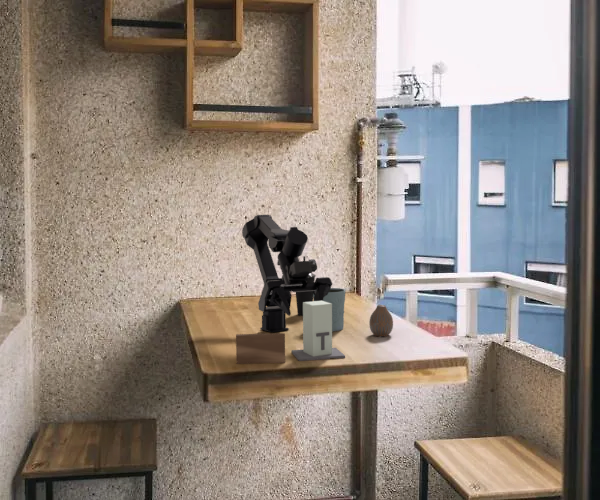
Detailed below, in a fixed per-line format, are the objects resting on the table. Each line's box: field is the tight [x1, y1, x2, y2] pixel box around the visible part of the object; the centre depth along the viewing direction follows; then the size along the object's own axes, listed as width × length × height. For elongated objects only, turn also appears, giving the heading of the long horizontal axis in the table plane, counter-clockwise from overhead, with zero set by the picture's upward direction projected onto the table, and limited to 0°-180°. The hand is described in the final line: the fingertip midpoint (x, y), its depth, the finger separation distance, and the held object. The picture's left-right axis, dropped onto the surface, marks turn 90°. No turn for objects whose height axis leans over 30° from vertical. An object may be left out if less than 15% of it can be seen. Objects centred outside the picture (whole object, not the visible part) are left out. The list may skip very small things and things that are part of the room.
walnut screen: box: [235, 332, 286, 365], centre depth 167 cm, size 2×12×7 cm, turn 93°
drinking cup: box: [295, 255, 317, 317], centre depth 229 cm, size 8×8×20 cm
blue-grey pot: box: [313, 287, 346, 332], centre depth 206 cm, size 10×10×12 cm
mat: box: [291, 347, 346, 362], centre depth 174 cm, size 12×9×1 cm
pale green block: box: [302, 301, 333, 356], centre depth 173 cm, size 6×6×13 cm
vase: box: [368, 304, 394, 337], centre depth 196 cm, size 7×7×9 cm
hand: (305, 313), depth 180 cm, fingers open, 9 cm apart
